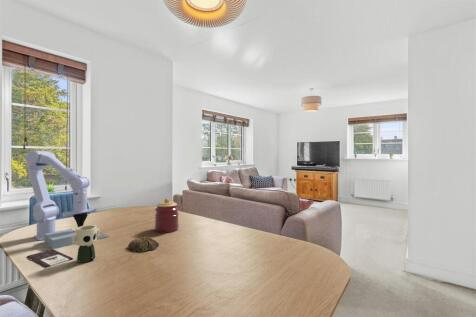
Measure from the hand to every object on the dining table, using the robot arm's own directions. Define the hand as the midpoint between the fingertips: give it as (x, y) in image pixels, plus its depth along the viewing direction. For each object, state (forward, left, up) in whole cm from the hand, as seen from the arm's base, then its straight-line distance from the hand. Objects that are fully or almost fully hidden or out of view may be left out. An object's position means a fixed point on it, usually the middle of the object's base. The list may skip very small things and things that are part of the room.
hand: (80, 228), depth 125 cm
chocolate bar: (+18, -17, -6) cm, 25 cm away
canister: (+19, +37, -5) cm, 42 cm away
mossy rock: (+35, +15, -6) cm, 39 cm away
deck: (0, -8, -5) cm, 9 cm away
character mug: (+31, -8, -5) cm, 32 cm away
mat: (0, +4, -5) cm, 7 cm away
